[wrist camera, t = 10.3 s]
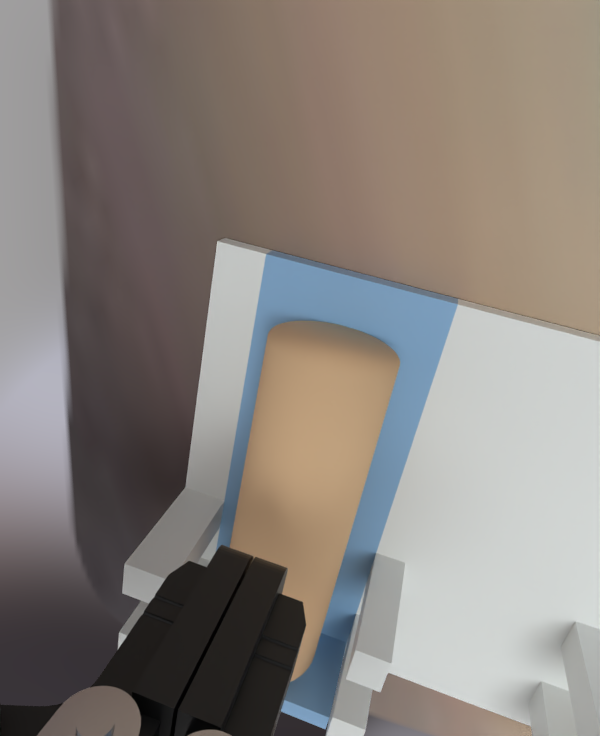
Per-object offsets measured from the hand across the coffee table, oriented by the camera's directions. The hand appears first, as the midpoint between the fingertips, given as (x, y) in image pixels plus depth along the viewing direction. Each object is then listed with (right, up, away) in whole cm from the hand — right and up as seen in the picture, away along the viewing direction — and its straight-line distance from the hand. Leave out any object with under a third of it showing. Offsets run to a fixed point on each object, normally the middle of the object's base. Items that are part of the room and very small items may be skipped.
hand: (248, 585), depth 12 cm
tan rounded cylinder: (+1, +1, +7) cm, 7 cm away
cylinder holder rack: (+5, 0, +7) cm, 8 cm away
